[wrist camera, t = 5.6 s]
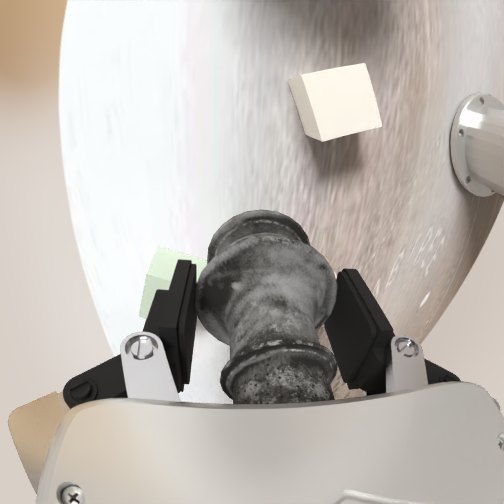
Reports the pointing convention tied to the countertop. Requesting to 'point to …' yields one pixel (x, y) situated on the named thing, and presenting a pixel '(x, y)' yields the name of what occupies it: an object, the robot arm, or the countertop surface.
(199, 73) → the countertop surface
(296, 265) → the salt shaker
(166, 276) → the sage painted cube
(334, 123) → the cream painted cube
